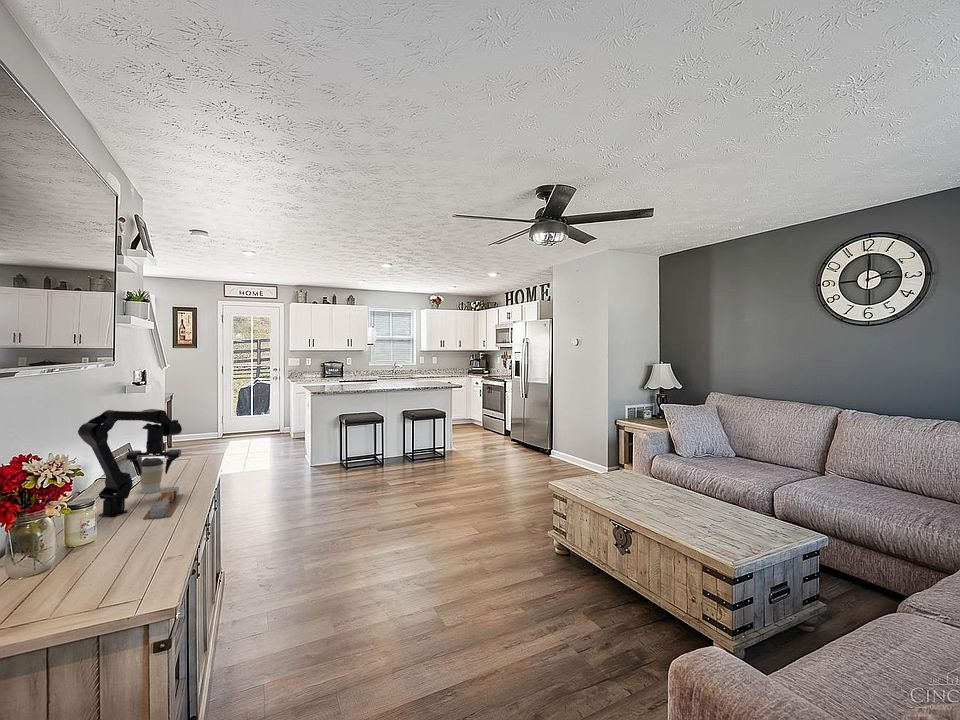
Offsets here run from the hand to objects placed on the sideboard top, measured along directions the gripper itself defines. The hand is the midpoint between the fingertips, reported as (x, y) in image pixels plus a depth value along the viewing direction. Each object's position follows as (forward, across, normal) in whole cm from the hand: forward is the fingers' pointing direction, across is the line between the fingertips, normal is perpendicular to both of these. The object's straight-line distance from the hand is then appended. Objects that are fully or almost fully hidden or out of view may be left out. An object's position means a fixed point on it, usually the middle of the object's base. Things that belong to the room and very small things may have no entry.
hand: (153, 474), depth 196 cm
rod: (+11, -6, +6) cm, 14 cm away
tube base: (+12, -6, +8) cm, 16 cm away
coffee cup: (+12, +5, -16) cm, 21 cm away
